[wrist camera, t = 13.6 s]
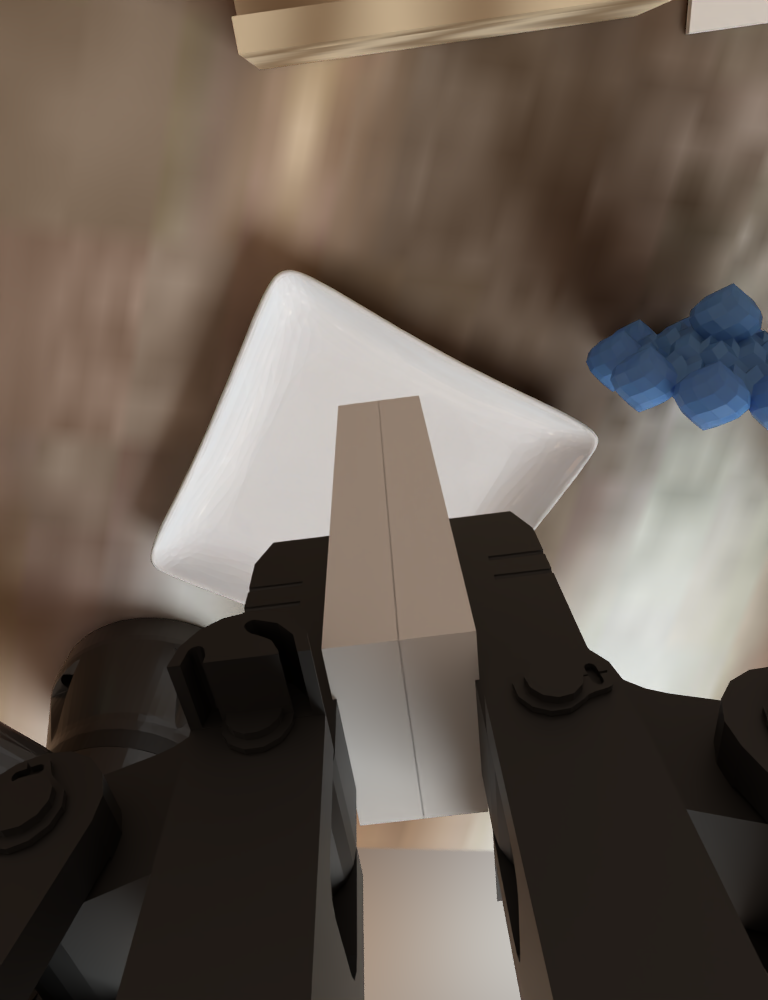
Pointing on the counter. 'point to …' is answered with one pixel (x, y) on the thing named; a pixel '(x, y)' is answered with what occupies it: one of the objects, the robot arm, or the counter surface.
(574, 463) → the salad plate
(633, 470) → the counter surface
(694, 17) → the mat
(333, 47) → the box
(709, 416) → the grapes
